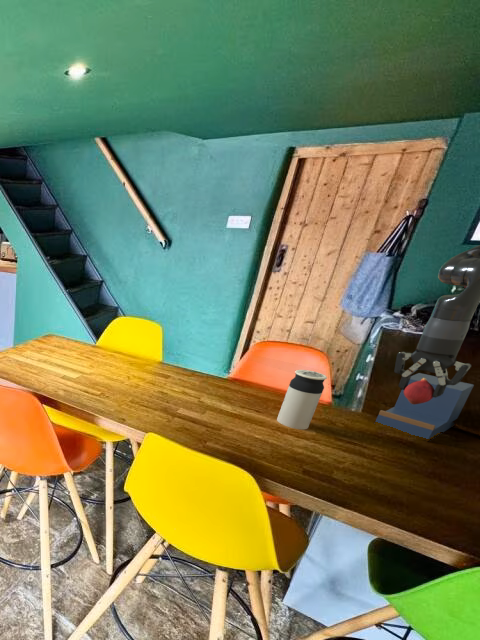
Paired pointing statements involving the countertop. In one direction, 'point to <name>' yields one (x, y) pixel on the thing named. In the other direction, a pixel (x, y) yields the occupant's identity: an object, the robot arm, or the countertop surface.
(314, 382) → the travel mug
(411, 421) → the stand
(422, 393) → the onion
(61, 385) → the countertop surface
